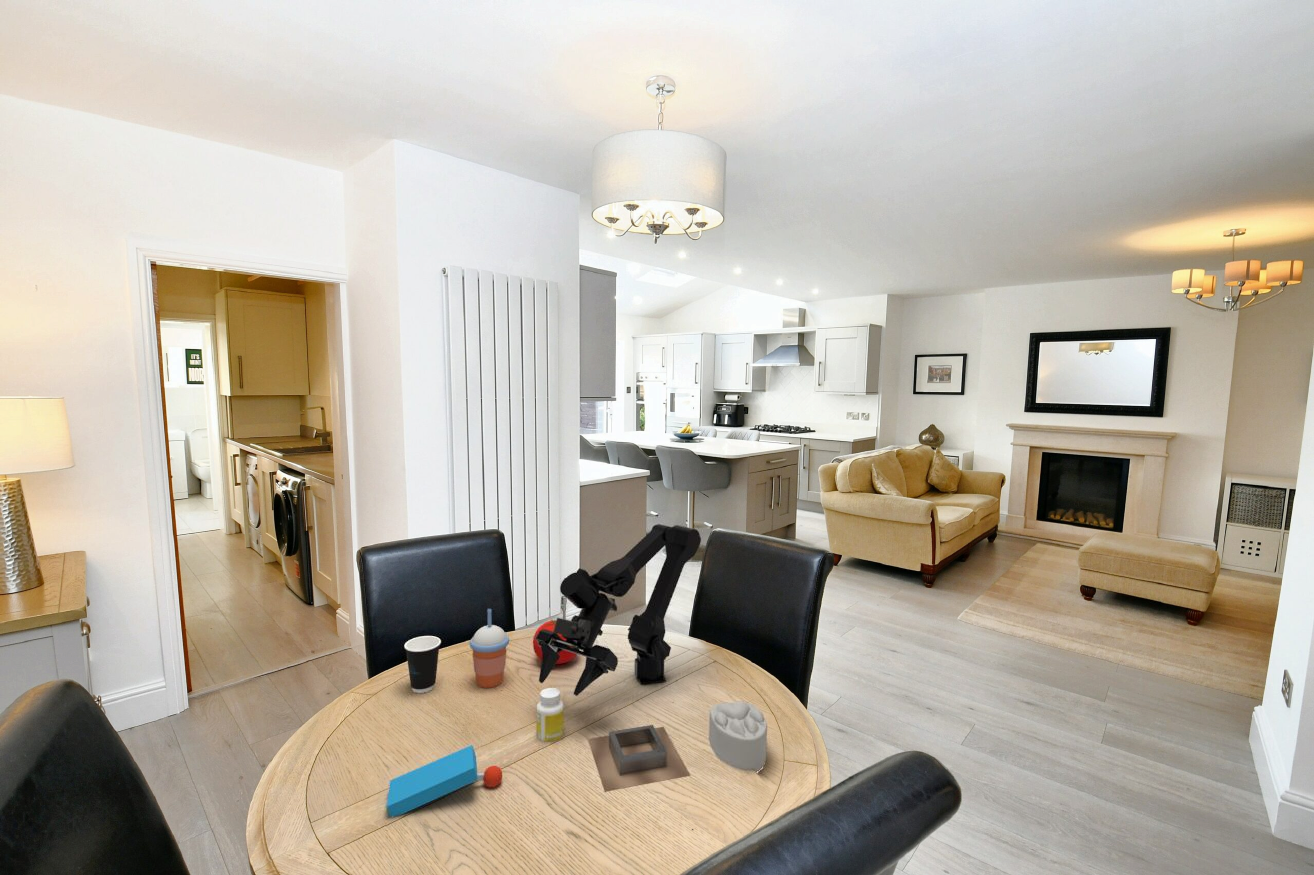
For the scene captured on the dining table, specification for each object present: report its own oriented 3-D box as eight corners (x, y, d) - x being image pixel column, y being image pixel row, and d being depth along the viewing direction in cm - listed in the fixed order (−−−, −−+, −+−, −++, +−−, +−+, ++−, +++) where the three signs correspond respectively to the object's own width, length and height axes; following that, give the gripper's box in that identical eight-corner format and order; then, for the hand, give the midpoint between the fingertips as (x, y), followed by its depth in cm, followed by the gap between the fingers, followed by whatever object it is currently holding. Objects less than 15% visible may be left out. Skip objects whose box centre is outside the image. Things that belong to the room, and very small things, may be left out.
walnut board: (663, 732, 123) (663, 726, 123) (690, 781, 108) (690, 775, 108) (587, 744, 118) (587, 738, 118) (604, 797, 103) (604, 791, 103)
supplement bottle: (568, 735, 121) (568, 689, 121) (553, 749, 117) (553, 702, 116) (546, 728, 124) (547, 683, 123) (530, 742, 119) (530, 695, 118)
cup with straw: (503, 691, 138) (503, 617, 136) (464, 690, 138) (463, 616, 136) (513, 673, 147) (513, 602, 145) (477, 672, 147) (476, 601, 146)
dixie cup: (400, 697, 135) (399, 650, 134) (411, 679, 143) (411, 635, 142) (435, 696, 135) (435, 650, 134) (445, 679, 143) (444, 635, 142)
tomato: (581, 650, 160) (581, 613, 159) (577, 671, 149) (578, 631, 148) (536, 650, 160) (536, 613, 159) (529, 671, 148) (529, 631, 147)
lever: (399, 842, 98) (506, 792, 104) (386, 806, 97) (495, 758, 103) (402, 813, 105) (503, 768, 110) (390, 780, 104) (492, 735, 109)
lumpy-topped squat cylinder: (751, 733, 124) (753, 693, 123) (776, 772, 111) (778, 729, 110) (703, 737, 122) (705, 697, 121) (723, 779, 109) (725, 734, 108)
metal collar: (652, 738, 119) (652, 724, 118) (666, 766, 110) (666, 751, 110) (608, 746, 116) (608, 731, 116) (619, 775, 108) (619, 759, 107)
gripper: (541, 592, 129) (504, 660, 121) (611, 611, 120) (576, 686, 111) (564, 616, 137) (530, 681, 128) (631, 635, 127) (600, 707, 119)
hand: (557, 688), depth 121 cm, fingers open, 9 cm apart
